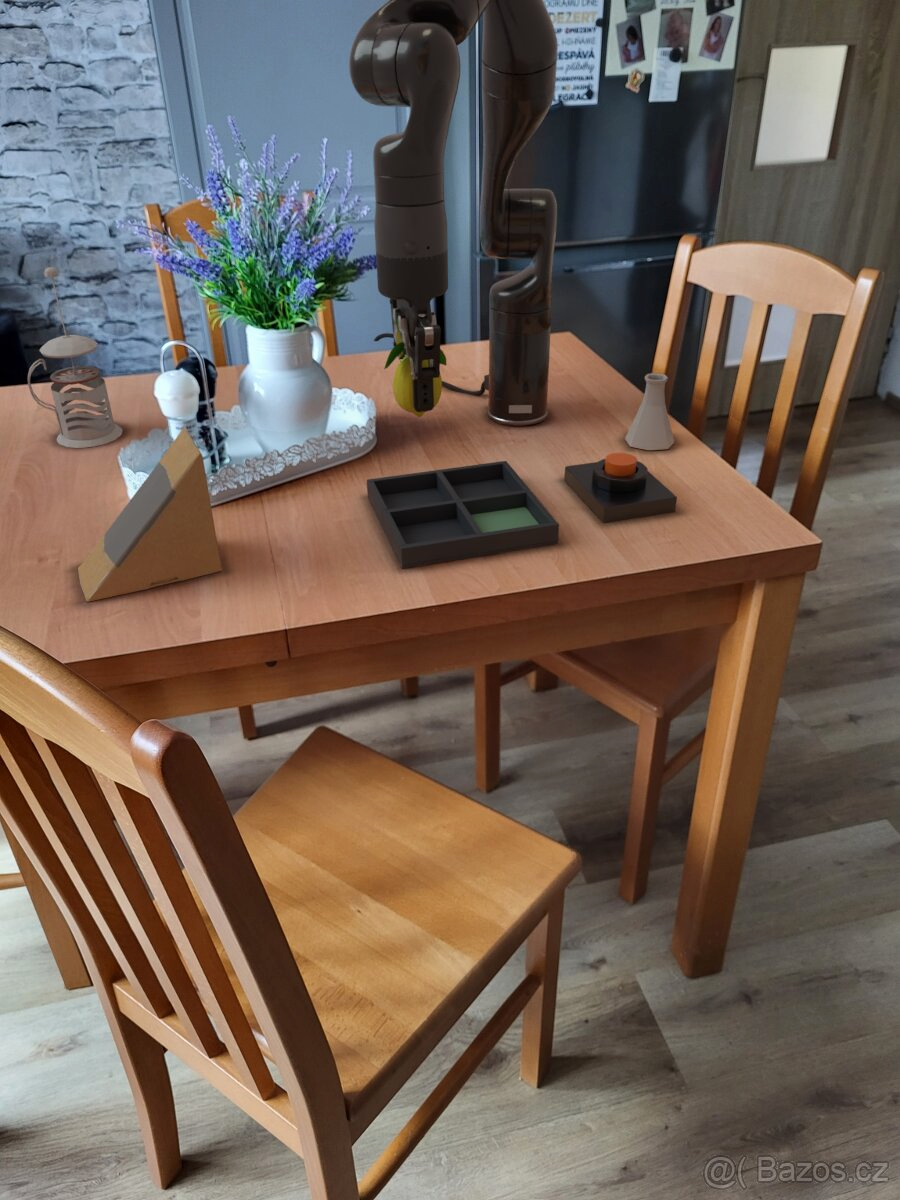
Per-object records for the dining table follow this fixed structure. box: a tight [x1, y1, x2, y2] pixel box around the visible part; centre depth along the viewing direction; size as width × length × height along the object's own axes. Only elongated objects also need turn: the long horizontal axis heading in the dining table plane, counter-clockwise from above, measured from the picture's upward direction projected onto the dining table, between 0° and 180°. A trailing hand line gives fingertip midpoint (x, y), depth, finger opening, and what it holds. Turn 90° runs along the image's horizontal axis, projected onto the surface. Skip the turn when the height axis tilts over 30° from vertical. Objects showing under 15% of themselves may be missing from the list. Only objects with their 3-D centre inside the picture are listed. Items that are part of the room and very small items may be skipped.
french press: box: [27, 266, 124, 449], centre depth 137 cm, size 10×12×25 cm
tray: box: [366, 460, 560, 570], centre depth 118 cm, size 19×19×3 cm
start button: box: [604, 452, 638, 476], centre depth 121 cm, size 4×4×2 cm
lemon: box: [383, 342, 447, 418], centre depth 105 cm, size 7×6×10 cm
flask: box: [624, 372, 675, 451], centre depth 136 cm, size 7×7×10 cm
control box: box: [563, 458, 678, 524], centre depth 122 cm, size 13×10×4 cm
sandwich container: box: [77, 426, 223, 603], centre depth 105 cm, size 9×15×15 cm, turn 115°
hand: (417, 399), depth 107 cm, fingers closed on lemon, 5 cm apart
